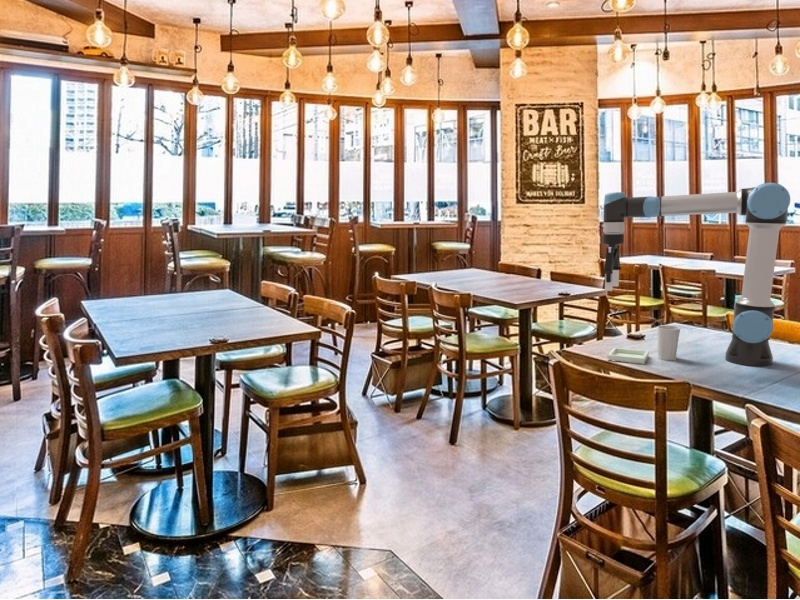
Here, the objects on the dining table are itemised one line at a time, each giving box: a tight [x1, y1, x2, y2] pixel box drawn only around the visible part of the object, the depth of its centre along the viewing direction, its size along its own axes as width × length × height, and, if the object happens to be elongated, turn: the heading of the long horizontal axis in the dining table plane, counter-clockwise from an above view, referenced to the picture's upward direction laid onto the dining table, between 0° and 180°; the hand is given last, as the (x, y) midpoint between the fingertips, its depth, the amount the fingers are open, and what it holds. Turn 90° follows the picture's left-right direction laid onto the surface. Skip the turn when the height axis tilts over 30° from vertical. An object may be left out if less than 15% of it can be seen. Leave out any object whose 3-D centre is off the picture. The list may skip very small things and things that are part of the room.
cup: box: [656, 325, 681, 361], centre depth 220 cm, size 8×8×12 cm
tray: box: [607, 347, 650, 365], centre depth 222 cm, size 13×13×2 cm
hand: (611, 288), depth 223 cm, fingers open, 13 cm apart
